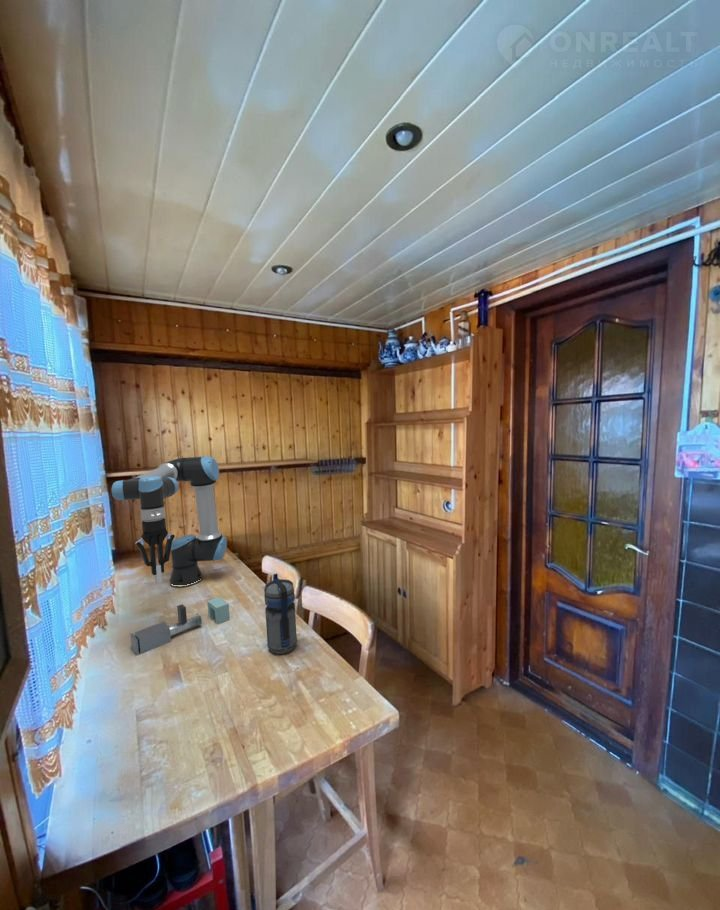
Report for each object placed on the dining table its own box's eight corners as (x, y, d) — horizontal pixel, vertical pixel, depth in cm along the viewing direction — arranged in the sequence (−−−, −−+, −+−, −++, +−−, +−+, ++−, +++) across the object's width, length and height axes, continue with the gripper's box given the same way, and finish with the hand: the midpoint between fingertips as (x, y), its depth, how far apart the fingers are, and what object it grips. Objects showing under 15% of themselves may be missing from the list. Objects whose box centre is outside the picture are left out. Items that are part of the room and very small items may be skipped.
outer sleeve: (136, 655, 130) (135, 641, 130) (131, 647, 135) (130, 633, 134) (171, 641, 138) (169, 627, 137) (165, 634, 142) (164, 621, 142)
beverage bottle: (273, 663, 123) (268, 589, 121) (264, 643, 134) (260, 575, 133) (302, 654, 127) (299, 582, 125) (292, 635, 139) (288, 569, 137)
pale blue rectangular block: (217, 624, 149) (216, 608, 148) (208, 616, 155) (207, 601, 155) (229, 619, 152) (228, 603, 152) (220, 612, 159) (219, 596, 158)
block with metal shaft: (139, 650, 132) (136, 624, 131) (136, 646, 134) (134, 620, 134) (202, 625, 147) (200, 602, 146) (198, 622, 150) (196, 599, 149)
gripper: (135, 524, 128) (141, 591, 130) (176, 517, 137) (181, 579, 139) (130, 521, 134) (136, 585, 135) (169, 514, 143) (174, 574, 144)
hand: (158, 582), depth 137 cm, fingers closed
